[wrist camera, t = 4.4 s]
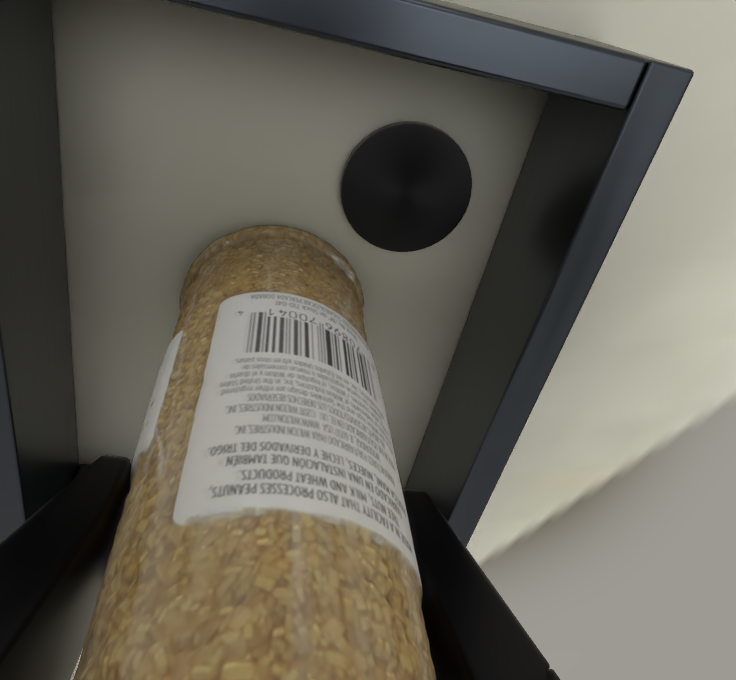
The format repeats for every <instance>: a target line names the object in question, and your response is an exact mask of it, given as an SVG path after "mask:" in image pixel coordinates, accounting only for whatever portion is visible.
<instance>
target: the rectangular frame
mask: <svg viewBox="0 0 736 680" xmlns="http://www.w3.org/2000/svg"><path fill="white" fill-rule="evenodd" d="M162 1H166V2H170V3H175V4H179V5H183V6H187V7H191V8H195V9H200V10H204V11H208V12H212V13H216V14H221V15H225V16H229V17H233V18H237V19H241V20H246V21H250V22H254V23H258V24H262V25H266V26H271V27H275V28H279V29H283V30H287V31H292V32H296V33H300V34H304V35H308V36H312V37H317V38H321V39H325V40H329V41H333V42H338V43H342V44H346V45H350V46H354V47H358V48H363V49H367V50H371V51H375V52H379V53H383V54H388V55H392V56H396V57H400V58H404V59H409V60H413V61H417V62H421V63H425V64H429V65H434V66H438V67H442V68H446V69H450V70H454V71H459V72H463V73H467V74H471V75H475V76H480V77H484V78H488V79H492V80H496V81H500V82H505V83H509V84H513V85H517V86H521V87H525V88H530V89H534V90H538V91H542V92H546V93H550V94H549V97H548V100H547V102H546V105H545V108H544V111H543V113H542V116H541V119H540V121H539V124H538V127H537V130H536V132H535V135H534V138H533V141H532V143H531V146H530V149H529V152H528V154H527V157H526V160H525V163H524V165H523V168H522V171H521V173H520V176H519V179H518V182H517V184H516V187H515V190H514V193H513V195H512V198H511V201H510V204H509V206H508V209H507V212H506V215H505V217H504V220H503V223H502V226H501V228H500V231H499V234H498V236H497V239H496V242H495V245H494V247H493V250H492V253H491V256H490V258H489V261H488V264H487V267H486V269H485V272H484V275H483V278H482V280H481V283H480V286H479V288H478V291H477V294H476V297H475V299H474V302H473V305H472V308H471V310H470V313H469V316H468V319H467V321H466V324H465V327H464V330H463V332H462V335H461V338H460V340H459V343H458V346H457V349H456V351H455V354H454V357H453V360H452V362H451V365H450V368H449V371H448V373H447V376H446V379H445V382H444V384H443V387H442V390H441V393H440V395H439V398H438V401H437V403H436V406H435V409H434V412H433V414H432V417H431V420H430V423H429V425H428V428H427V431H426V434H425V436H424V439H423V442H422V445H421V447H420V450H419V453H418V455H417V458H416V461H415V464H414V466H413V469H412V472H411V475H410V477H409V480H408V483H407V486H406V488H405V489H411V490H420V491H424V492H426V493H427V494H428V495H429V496H430V498H431V499H432V500H433V502H434V503H435V505H436V506H437V507H438V509H439V510H440V512H441V513H442V514H443V516H444V517H445V519H446V520H447V521H448V523H449V524H450V526H451V527H452V529H453V530H454V531H455V533H456V534H457V536H458V537H459V538H460V540H461V541H462V543H463V544H464V545H465V547H466V546H467V544H468V542H469V540H470V538H471V536H472V534H473V532H474V530H475V528H476V525H477V523H478V521H479V519H480V517H481V515H482V513H483V511H484V509H485V507H486V505H487V503H488V501H489V498H490V496H491V494H492V492H493V490H494V488H495V486H496V484H497V482H498V480H499V478H500V476H501V473H502V471H503V469H504V467H505V465H506V463H507V461H508V459H509V457H510V455H511V453H512V451H513V449H514V446H515V444H516V442H517V440H518V438H519V436H520V434H521V432H522V430H523V428H524V426H525V424H526V422H527V419H528V417H529V415H530V413H531V411H532V409H533V407H534V405H535V403H536V401H537V399H538V397H539V395H540V392H541V390H542V388H543V386H544V384H545V382H546V380H547V378H548V376H549V374H550V372H551V370H552V368H553V365H554V363H555V361H556V359H557V357H558V355H559V353H560V351H561V349H562V347H563V345H564V343H565V341H566V338H567V336H568V334H569V332H570V330H571V328H572V326H573V324H574V322H575V320H576V318H577V316H578V314H579V311H580V309H581V307H582V305H583V303H584V301H585V299H586V297H587V295H588V293H589V291H590V289H591V287H592V284H593V282H594V280H595V278H596V276H597V274H598V272H599V270H600V268H601V266H602V264H603V262H604V259H605V257H606V255H607V253H608V251H609V249H610V247H611V245H612V243H613V241H614V239H615V237H616V235H617V232H618V230H619V228H620V226H621V224H622V222H623V220H624V218H625V216H626V214H627V212H628V210H629V208H630V205H631V203H632V201H633V199H634V197H635V195H636V193H637V191H638V189H639V187H640V185H641V183H642V181H643V178H644V176H645V174H646V172H647V170H648V168H649V166H650V164H651V162H652V160H653V158H654V156H655V154H656V151H657V149H658V147H659V145H660V143H661V141H662V139H663V137H664V135H665V133H666V131H667V129H668V127H669V124H670V122H671V120H672V118H673V116H674V114H675V112H676V110H677V108H678V106H679V104H680V102H681V100H682V97H683V95H684V93H685V91H686V89H687V87H688V85H689V83H690V81H691V79H692V77H693V74H694V72H693V71H692V70H690V69H687V68H684V67H680V66H677V65H674V64H671V63H667V62H664V61H661V60H658V59H654V58H651V57H648V56H645V55H641V54H638V53H635V52H632V51H628V50H625V49H622V48H619V47H615V46H612V45H609V44H606V43H602V42H598V41H594V40H591V39H587V38H583V37H579V36H575V35H571V34H567V33H564V32H560V31H556V30H552V29H548V28H544V27H541V26H537V25H533V24H529V23H525V22H521V21H518V20H514V19H510V18H506V17H502V16H498V15H495V14H491V13H487V12H483V11H479V10H475V9H472V8H468V7H464V6H460V5H456V4H452V3H449V2H445V1H441V0H162ZM471 189H472V178H471V171H470V167H469V164H468V161H467V159H466V157H465V155H464V153H463V151H462V150H461V148H460V147H459V146H458V144H457V143H456V142H455V141H454V140H453V139H452V138H451V137H450V136H449V135H448V134H446V133H445V132H443V131H442V130H440V129H438V128H436V127H434V126H431V125H428V124H424V123H419V122H400V123H395V124H391V125H387V126H385V127H383V128H380V129H378V130H377V131H375V132H373V133H371V134H370V135H369V136H367V137H366V138H365V139H364V140H363V141H362V142H361V143H360V144H359V145H358V146H357V147H356V148H355V150H354V151H353V152H352V154H351V156H350V157H349V159H348V161H347V163H346V166H345V168H344V172H343V176H342V182H341V197H342V204H343V208H344V212H345V214H346V216H347V219H348V220H349V222H350V224H351V225H352V227H353V228H354V229H355V231H356V232H357V233H358V234H359V235H360V236H361V237H362V238H364V239H365V240H366V241H368V242H369V243H371V244H373V245H375V246H377V247H380V248H382V249H386V250H390V251H397V252H409V251H416V250H420V249H423V248H426V247H429V246H431V245H433V244H435V243H437V242H439V241H440V240H442V239H443V238H444V237H446V236H447V235H448V234H449V233H450V232H451V231H452V230H453V229H454V228H455V227H456V226H457V224H458V223H459V222H460V220H461V219H462V217H463V215H464V213H465V212H466V209H467V207H468V204H469V200H470V196H471ZM89 466H90V465H85V464H81V465H79V467H78V452H77V435H76V419H75V402H74V386H73V369H72V352H71V336H70V319H69V303H68V286H67V269H66V253H65V236H64V219H63V203H62V186H61V170H60V153H59V136H58V120H57V103H56V86H55V70H54V53H53V37H52V20H51V3H50V0H0V542H2V541H3V540H4V539H5V538H6V537H7V536H9V535H10V534H11V533H12V532H13V531H14V530H16V529H17V528H18V527H19V526H20V525H22V524H23V523H24V522H25V521H26V520H27V519H29V518H30V517H31V516H32V515H33V514H34V513H36V512H37V511H38V510H39V509H40V508H41V507H43V506H44V505H45V504H46V503H47V502H48V501H50V500H51V499H52V498H53V497H54V496H55V495H57V494H58V493H59V492H60V491H61V490H62V489H64V488H65V487H66V486H67V485H68V484H69V483H71V482H72V481H73V480H74V479H75V478H76V477H78V476H79V475H80V474H81V473H82V472H83V471H85V470H86V469H87V468H88V467H89Z"/></svg>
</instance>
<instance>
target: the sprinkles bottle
mask: <svg viewBox="0 0 736 680" xmlns="http://www.w3.org/2000/svg"><path fill="white" fill-rule="evenodd" d="M363 306H364V298H363V293H362V289H361V285H360V282H359V280H358V278H357V276H356V274H355V272H354V270H353V268H352V267H351V265H350V264H349V262H348V261H347V259H346V258H345V257H344V256H343V255H341V254H340V253H339V252H338V251H337V250H336V249H335V248H334V247H332V246H331V245H330V244H328V243H327V242H325V241H322V240H320V239H319V238H318V237H317V236H315V235H313V234H310V233H307V232H305V231H301V230H297V229H293V228H289V227H286V226H277V225H271V226H256V227H251V228H246V229H242V230H239V231H237V232H235V233H231V234H229V235H227V236H225V237H222V238H220V239H217V240H216V241H214V242H212V243H211V244H210V245H209V246H208V247H207V248H206V249H205V250H204V251H203V252H202V253H201V254H200V255H199V257H198V258H197V259H196V260H195V262H194V263H193V264H192V266H191V268H190V270H189V272H188V276H187V277H186V279H185V282H184V285H183V288H182V290H181V294H180V314H179V317H178V322H177V325H176V327H175V331H174V335H173V339H172V341H171V343H170V345H169V346H168V348H167V350H166V353H165V355H164V358H163V360H162V363H161V367H160V370H159V373H158V376H157V380H156V383H155V386H154V389H153V392H152V396H151V399H150V402H149V406H148V409H147V412H146V416H145V420H144V424H143V427H142V431H141V434H140V437H139V441H138V444H137V447H136V451H135V454H134V457H133V461H132V466H131V473H130V492H129V494H128V495H127V497H126V499H125V503H124V508H123V512H122V516H121V519H120V522H119V524H118V526H117V532H116V534H115V538H114V543H113V547H112V549H111V552H110V555H109V557H108V561H107V565H106V569H105V573H104V578H103V582H102V586H101V588H100V591H99V594H98V596H97V601H96V606H95V611H94V614H93V616H92V619H91V622H90V624H89V628H88V631H87V634H86V638H85V642H84V646H83V650H82V654H81V658H80V662H79V665H78V668H77V671H76V674H75V676H74V679H73V680H436V675H435V669H434V665H433V662H432V659H431V654H430V647H429V641H428V637H427V633H426V629H425V623H424V618H423V613H422V609H421V605H422V595H423V593H422V584H421V579H420V574H419V569H418V564H417V559H416V554H415V549H414V544H413V540H412V535H411V530H410V525H409V520H408V515H407V510H406V505H405V501H404V496H403V492H402V487H401V483H400V478H399V473H398V469H397V464H396V459H395V454H394V449H393V444H392V438H391V434H390V429H389V424H388V420H387V415H386V411H385V406H384V402H383V397H382V392H381V388H380V383H379V378H378V374H377V370H376V366H375V362H374V359H373V356H372V354H371V352H370V350H369V348H368V345H367V339H366V333H365V329H364V323H363Z"/></svg>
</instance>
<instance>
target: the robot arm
mask: <svg viewBox="0 0 736 680" xmlns="http://www.w3.org/2000/svg"><path fill="white" fill-rule="evenodd" d="M130 473H131V463H130V460H129V459H128V458H126V457H118V456H109V455H105V456H102V457H100V458H99V459H97V460H96V461H95V462H94V463H93V464H92V465H90V466H89V467H88V468H87V469H86V470H85V471H83V472H82V473H81V474H80V475H79V476H78V477H76V478H75V479H74V480H73V481H72V482H71V483H69V484H68V485H67V486H66V487H65V488H64V489H62V490H61V491H60V492H59V493H58V494H57V495H55V496H54V497H53V498H52V499H51V500H50V501H48V502H47V503H46V504H45V505H44V506H43V507H41V508H40V509H39V510H38V511H37V512H36V513H34V514H33V515H32V516H31V517H30V518H29V519H27V520H26V521H25V522H24V523H23V524H22V525H20V526H19V527H18V528H17V529H16V530H14V531H13V532H12V533H11V534H10V535H9V536H7V537H6V538H5V539H4V540H3V541H2V542H0V680H70V678H71V676H72V674H73V671H74V669H75V666H76V664H77V661H78V659H79V656H80V654H81V651H82V649H83V646H84V642H85V638H86V634H87V631H88V628H89V624H90V622H91V619H92V616H93V614H94V611H95V606H96V601H97V596H98V594H99V591H100V588H101V586H102V582H103V578H104V573H105V569H106V565H107V561H108V557H109V555H110V552H111V549H112V547H113V543H114V538H115V534H116V532H117V526H118V524H119V522H120V519H121V516H122V512H123V508H124V503H125V499H126V497H127V495H128V494H129V492H130ZM402 492H403V496H404V501H405V505H406V510H407V515H408V520H409V525H410V530H411V535H412V540H413V544H414V549H415V554H416V559H417V564H418V569H419V574H420V579H421V584H422V593H423V595H422V605H421V609H422V613H423V618H424V623H425V629H426V633H427V637H428V641H429V647H430V654H431V659H432V662H433V665H434V669H435V675H436V680H560V679H559V677H558V676H557V674H556V673H555V672H554V670H552V669H549V664H548V662H547V661H546V659H545V658H544V657H543V655H542V654H541V652H540V651H539V650H538V648H537V647H536V645H535V644H534V642H533V641H532V640H531V638H530V637H529V635H528V634H527V633H526V631H525V630H524V628H523V627H522V626H521V624H520V623H519V621H518V620H517V619H516V617H515V616H514V614H513V613H512V611H511V610H510V609H509V607H508V606H507V604H506V603H505V602H504V600H503V599H502V597H501V596H500V595H499V593H498V592H497V590H496V589H495V588H494V586H493V585H492V583H491V582H490V581H489V579H488V578H487V576H486V575H485V573H484V572H483V571H482V569H481V568H480V566H479V565H478V564H477V562H476V561H475V559H474V558H473V557H472V555H471V554H470V552H469V551H468V550H467V548H466V547H465V545H464V544H463V543H462V541H461V540H460V538H459V537H458V536H457V534H456V533H455V531H454V530H453V529H452V527H451V526H450V524H449V523H448V521H447V520H446V519H445V517H444V516H443V514H442V513H441V512H440V510H439V509H438V507H437V506H436V505H435V503H434V502H433V500H432V499H431V498H430V496H429V495H428V494H427V493H426V492H424V491H420V490H411V489H404V490H402Z"/></svg>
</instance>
